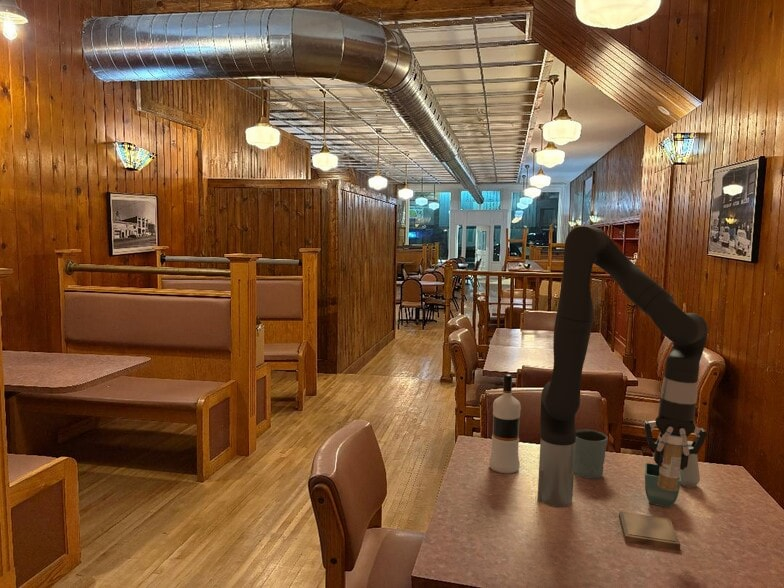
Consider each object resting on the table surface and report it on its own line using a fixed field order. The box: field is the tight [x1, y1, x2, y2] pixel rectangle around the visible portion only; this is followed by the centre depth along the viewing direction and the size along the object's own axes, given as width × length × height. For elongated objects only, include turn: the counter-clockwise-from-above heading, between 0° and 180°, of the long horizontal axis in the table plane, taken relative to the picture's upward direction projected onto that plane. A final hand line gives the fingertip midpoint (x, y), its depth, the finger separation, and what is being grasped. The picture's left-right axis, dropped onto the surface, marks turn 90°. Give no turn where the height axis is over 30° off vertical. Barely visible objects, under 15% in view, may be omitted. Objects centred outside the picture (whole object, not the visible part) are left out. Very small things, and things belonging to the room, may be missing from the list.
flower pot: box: [644, 462, 681, 508], centre depth 152 cm, size 9×9×9 cm
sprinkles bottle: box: [657, 435, 684, 491], centre depth 132 cm, size 5×5×13 cm
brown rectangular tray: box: [618, 511, 681, 551], centre depth 137 cm, size 12×12×2 cm
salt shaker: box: [680, 440, 701, 489], centre depth 163 cm, size 6×6×13 cm
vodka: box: [488, 373, 521, 475], centre depth 171 cm, size 9×9×30 cm
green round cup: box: [574, 429, 609, 480], centre depth 170 cm, size 10×10×12 cm
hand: (669, 466), depth 132 cm, fingers closed on sprinkles bottle, 4 cm apart
